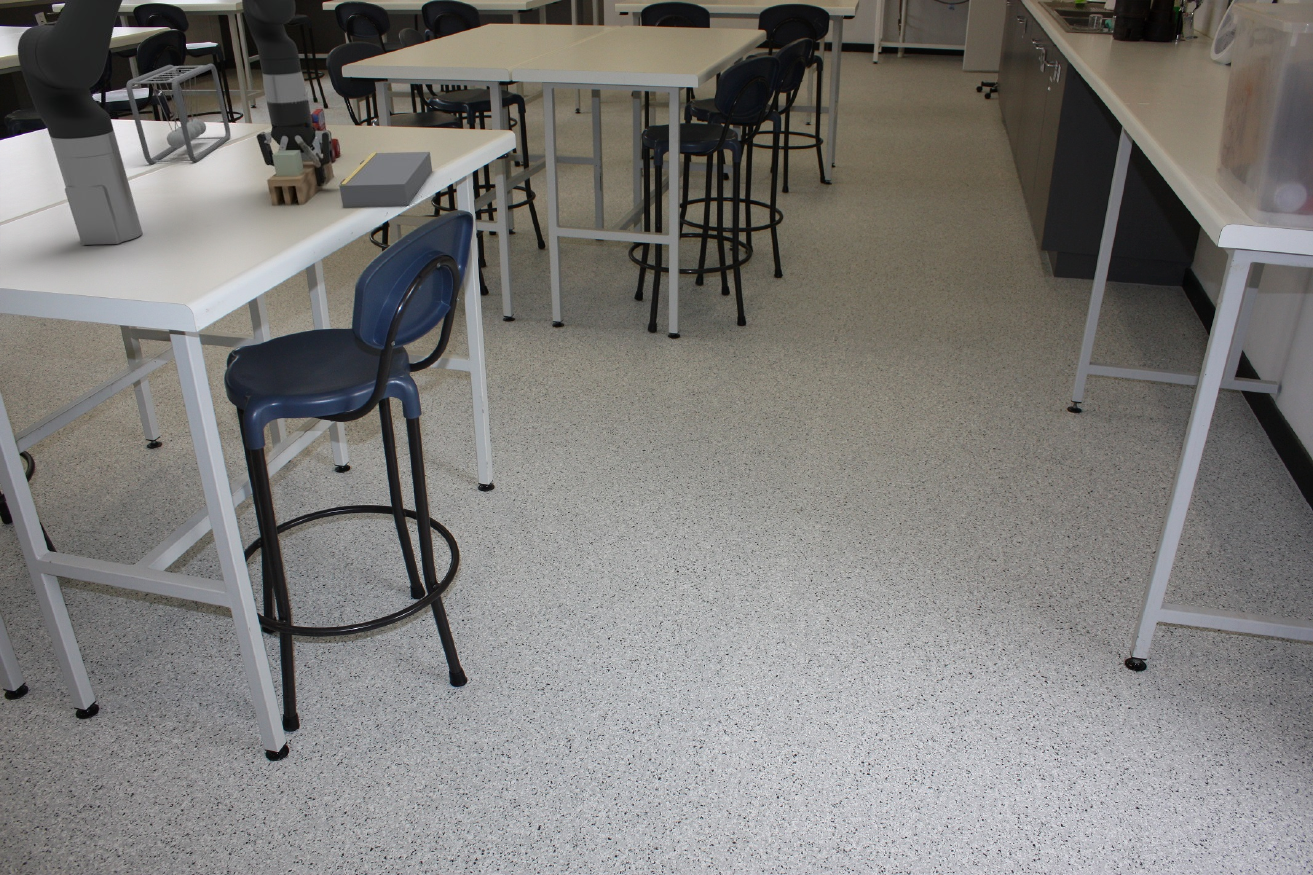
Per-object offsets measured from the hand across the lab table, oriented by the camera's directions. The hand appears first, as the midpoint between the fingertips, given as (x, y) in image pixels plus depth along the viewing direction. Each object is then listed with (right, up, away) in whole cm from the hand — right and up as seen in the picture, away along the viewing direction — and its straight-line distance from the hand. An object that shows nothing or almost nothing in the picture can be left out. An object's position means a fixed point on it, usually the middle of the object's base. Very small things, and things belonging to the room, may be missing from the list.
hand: (303, 185), depth 188 cm
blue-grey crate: (0, +6, +4) cm, 7 cm away
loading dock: (+17, 0, +1) cm, 17 cm away
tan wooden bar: (0, -1, +1) cm, 1 cm away
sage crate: (0, 0, -8) cm, 8 cm away
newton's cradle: (-40, +17, +35) cm, 56 cm away
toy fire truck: (-5, +12, +25) cm, 28 cm away
